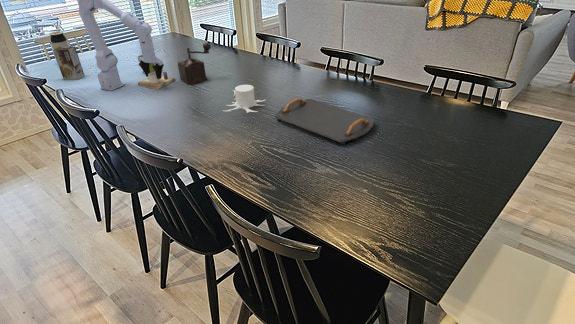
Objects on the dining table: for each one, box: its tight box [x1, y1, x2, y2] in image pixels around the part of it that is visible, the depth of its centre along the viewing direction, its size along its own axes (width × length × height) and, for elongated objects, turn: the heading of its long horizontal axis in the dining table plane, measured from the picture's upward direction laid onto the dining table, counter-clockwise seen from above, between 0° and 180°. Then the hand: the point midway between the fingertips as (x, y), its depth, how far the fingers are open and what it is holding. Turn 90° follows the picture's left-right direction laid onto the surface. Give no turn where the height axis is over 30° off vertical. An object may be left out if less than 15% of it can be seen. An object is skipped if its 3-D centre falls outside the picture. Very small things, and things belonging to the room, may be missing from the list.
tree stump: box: [222, 84, 266, 114], centre depth 166 cm, size 20×19×8 cm
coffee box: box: [52, 45, 86, 81], centre depth 202 cm, size 9×6×16 cm
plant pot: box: [136, 54, 155, 73], centre depth 208 cm, size 9×9×9 cm
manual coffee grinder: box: [177, 42, 212, 86], centre depth 193 cm, size 16×11×18 cm
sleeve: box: [147, 72, 161, 85], centre depth 189 cm, size 5×5×5 cm
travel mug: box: [48, 30, 69, 50], centre depth 224 cm, size 8×8×18 cm
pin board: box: [137, 71, 176, 90], centre depth 194 cm, size 13×13×5 cm
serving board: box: [274, 97, 375, 146], centre depth 149 cm, size 39×23×6 cm, turn 48°
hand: (154, 77), depth 189 cm, fingers open, 7 cm apart
